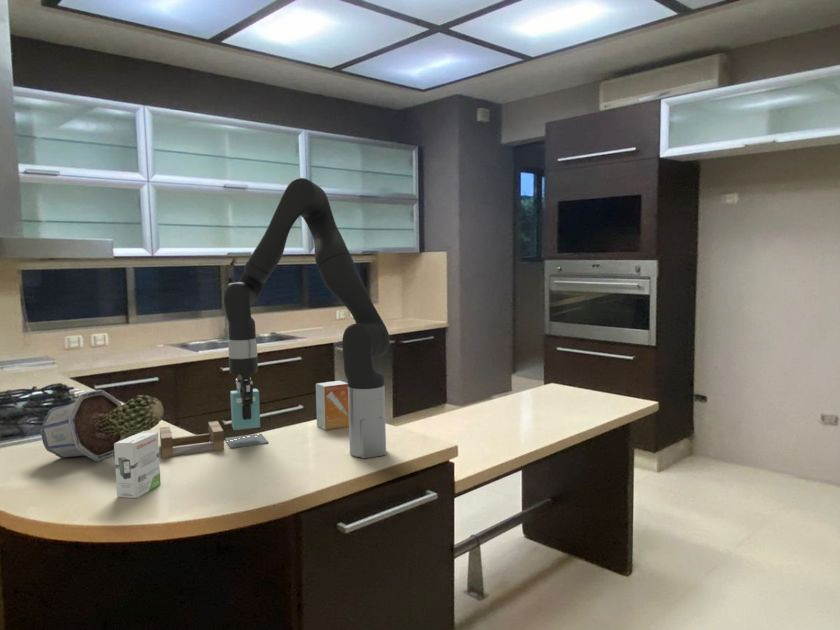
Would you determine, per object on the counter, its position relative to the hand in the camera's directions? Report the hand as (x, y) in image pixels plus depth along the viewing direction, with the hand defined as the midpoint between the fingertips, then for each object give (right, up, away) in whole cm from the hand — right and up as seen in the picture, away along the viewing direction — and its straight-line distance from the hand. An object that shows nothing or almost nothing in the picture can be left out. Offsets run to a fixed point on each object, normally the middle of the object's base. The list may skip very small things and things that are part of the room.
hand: (245, 417), depth 169 cm
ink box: (-13, -10, -36) cm, 40 cm away
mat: (0, -7, 0) cm, 7 cm away
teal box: (0, -3, 0) cm, 3 cm away
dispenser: (-13, -7, -5) cm, 16 cm away
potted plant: (-32, -9, -12) cm, 35 cm away
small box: (+22, -5, +15) cm, 27 cm away
